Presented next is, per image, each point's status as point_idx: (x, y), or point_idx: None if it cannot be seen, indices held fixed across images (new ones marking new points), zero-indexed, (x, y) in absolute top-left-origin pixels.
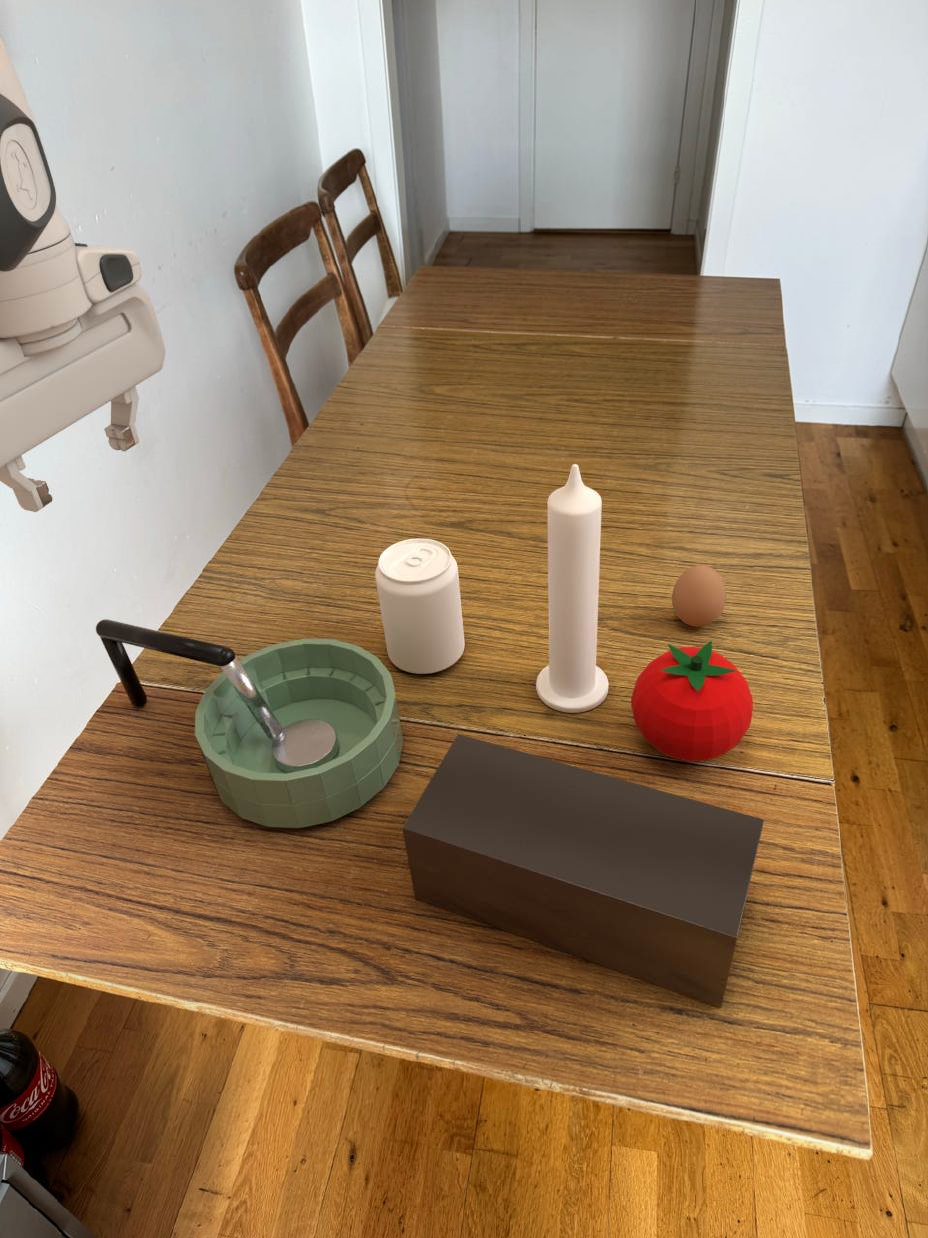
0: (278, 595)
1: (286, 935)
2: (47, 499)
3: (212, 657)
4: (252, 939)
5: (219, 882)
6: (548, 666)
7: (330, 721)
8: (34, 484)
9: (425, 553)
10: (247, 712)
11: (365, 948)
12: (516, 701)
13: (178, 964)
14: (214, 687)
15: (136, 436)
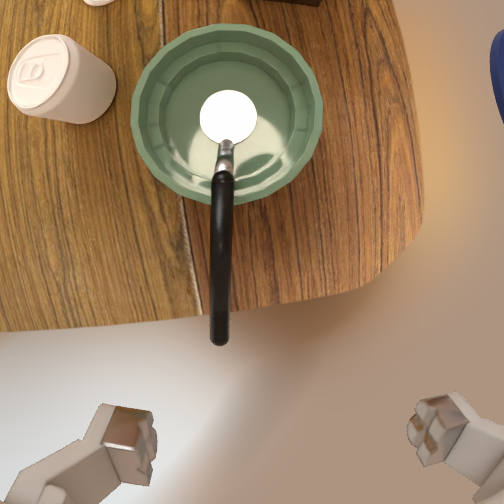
0: (66, 259)
1: (369, 70)
2: (439, 401)
3: (232, 190)
4: (378, 89)
5: (352, 128)
6: (91, 2)
7: (189, 117)
8: (474, 427)
9: (24, 72)
10: None
11: (358, 25)
12: (126, 7)
13: (404, 126)
14: None
15: (100, 414)
